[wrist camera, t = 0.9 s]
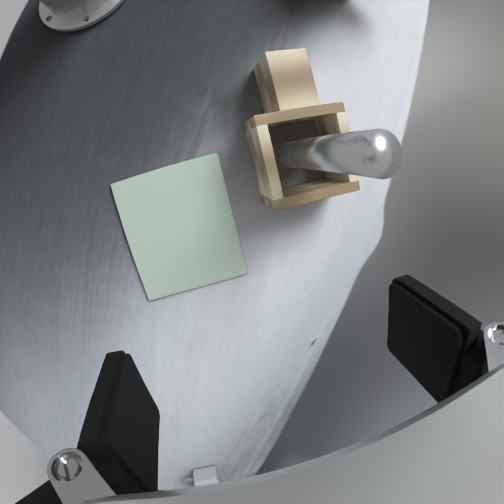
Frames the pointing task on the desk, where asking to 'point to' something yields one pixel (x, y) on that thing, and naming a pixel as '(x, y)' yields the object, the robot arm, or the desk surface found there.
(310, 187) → the beige wooden open box
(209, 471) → the usb wall charger
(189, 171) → the mat
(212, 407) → the desk surface
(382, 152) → the post
